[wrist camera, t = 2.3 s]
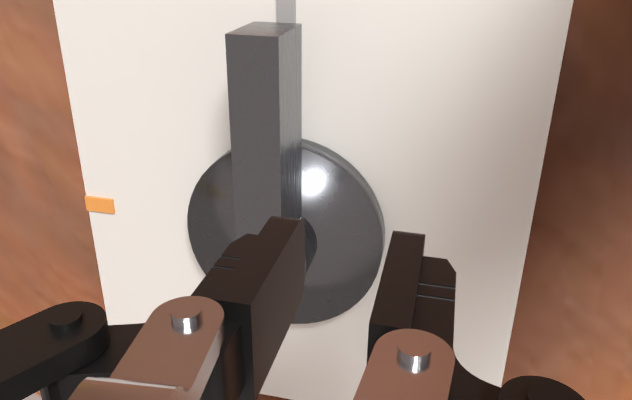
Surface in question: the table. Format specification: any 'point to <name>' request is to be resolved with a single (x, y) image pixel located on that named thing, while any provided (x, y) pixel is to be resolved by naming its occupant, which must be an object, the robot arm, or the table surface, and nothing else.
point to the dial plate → (332, 132)
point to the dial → (286, 178)
